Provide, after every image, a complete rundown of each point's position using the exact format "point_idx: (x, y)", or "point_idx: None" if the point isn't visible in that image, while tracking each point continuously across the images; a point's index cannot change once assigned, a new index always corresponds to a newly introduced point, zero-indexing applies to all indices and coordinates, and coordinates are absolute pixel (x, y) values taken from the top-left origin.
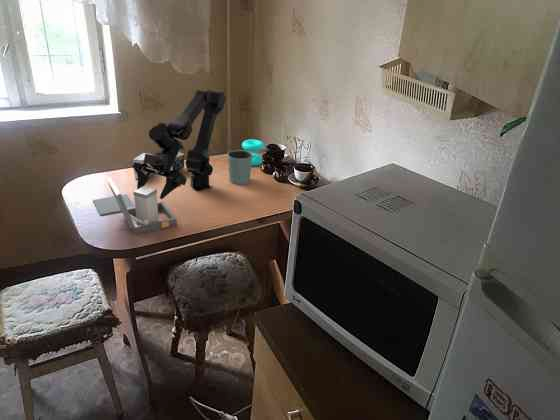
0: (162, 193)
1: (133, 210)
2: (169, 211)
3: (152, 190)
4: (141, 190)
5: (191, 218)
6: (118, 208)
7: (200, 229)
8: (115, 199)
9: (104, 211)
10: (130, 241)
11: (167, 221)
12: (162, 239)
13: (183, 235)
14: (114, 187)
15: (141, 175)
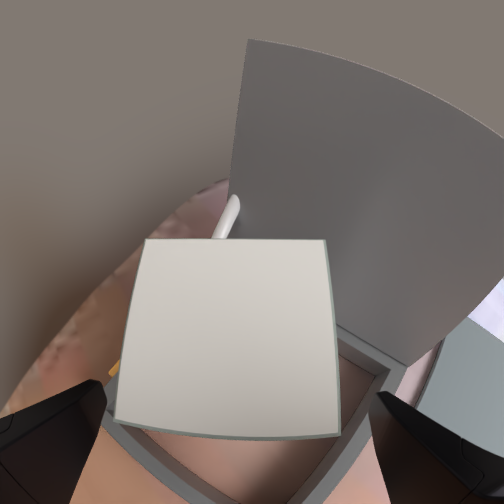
0: (60, 398)
1: (368, 403)
2: (159, 473)
3: (136, 367)
4: (264, 301)
5: (84, 482)
6: (445, 389)
7: (25, 401)
8: (496, 428)
9: (462, 334)
10: (213, 226)
11: (116, 375)
12: (111, 286)
13: (56, 341)
14: (369, 67)
15: (490, 502)
